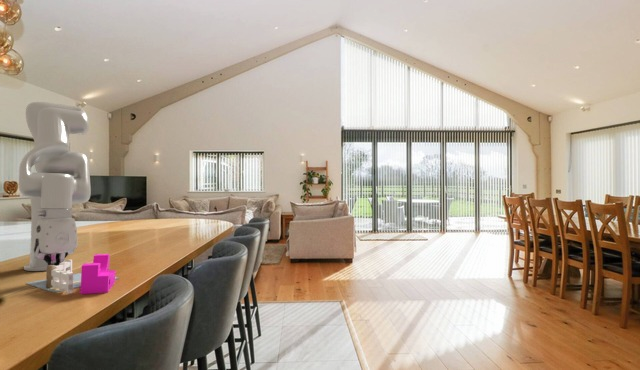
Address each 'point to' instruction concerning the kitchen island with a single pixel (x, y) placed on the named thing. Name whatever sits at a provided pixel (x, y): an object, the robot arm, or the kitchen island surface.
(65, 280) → the fixed panel and post
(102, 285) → the toy block
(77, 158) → the robot arm
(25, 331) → the kitchen island surface
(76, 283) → the mat
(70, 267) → the swing panel
